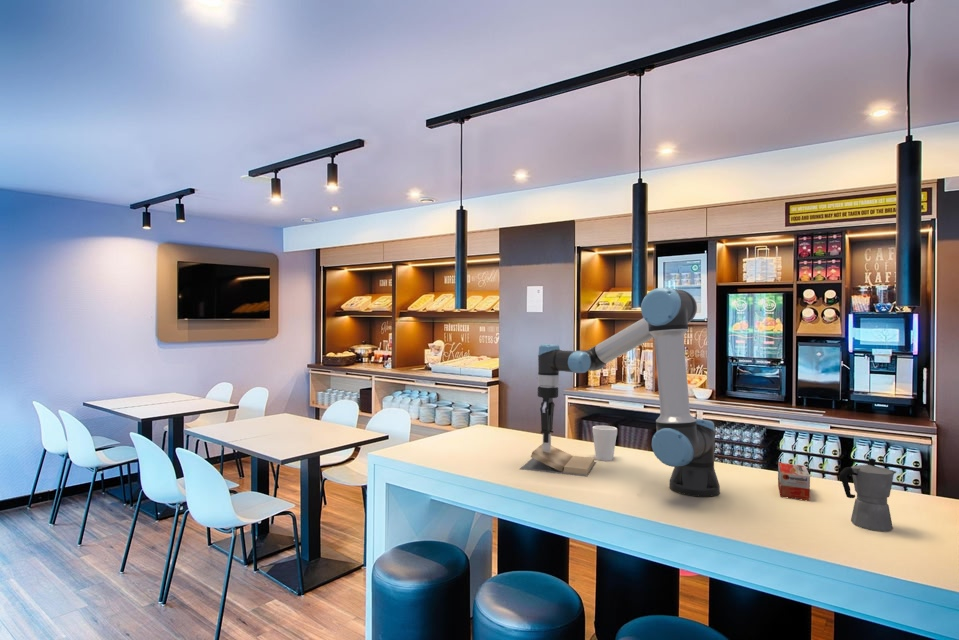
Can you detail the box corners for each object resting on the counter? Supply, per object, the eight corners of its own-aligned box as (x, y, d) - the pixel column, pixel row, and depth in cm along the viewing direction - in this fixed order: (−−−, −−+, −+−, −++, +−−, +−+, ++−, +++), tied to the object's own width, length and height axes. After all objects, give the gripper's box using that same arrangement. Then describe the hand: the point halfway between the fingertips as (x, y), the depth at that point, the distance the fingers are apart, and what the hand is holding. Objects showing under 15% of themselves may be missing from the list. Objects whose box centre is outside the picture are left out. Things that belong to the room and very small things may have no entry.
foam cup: (617, 464, 208) (618, 430, 208) (592, 463, 209) (593, 429, 209) (615, 459, 217) (615, 426, 217) (591, 457, 218) (592, 425, 219)
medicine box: (810, 502, 167) (810, 475, 167) (780, 498, 171) (780, 472, 171) (805, 489, 181) (805, 465, 181) (777, 485, 184) (777, 461, 184)
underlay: (596, 464, 207) (596, 456, 207) (587, 479, 187) (587, 470, 187) (534, 458, 215) (534, 450, 215) (519, 471, 195) (519, 463, 195)
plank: (571, 460, 209) (573, 455, 208) (561, 471, 192) (563, 466, 191) (542, 446, 212) (544, 442, 212) (530, 457, 196) (532, 451, 195)
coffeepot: (881, 519, 152) (881, 454, 152) (909, 532, 143) (910, 463, 143) (827, 519, 151) (828, 454, 151) (852, 532, 142) (853, 462, 142)
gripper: (542, 384, 207) (540, 446, 207) (533, 387, 195) (532, 453, 195) (561, 385, 205) (560, 448, 205) (554, 388, 193) (552, 455, 192)
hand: (546, 450), depth 200 cm, fingers closed
